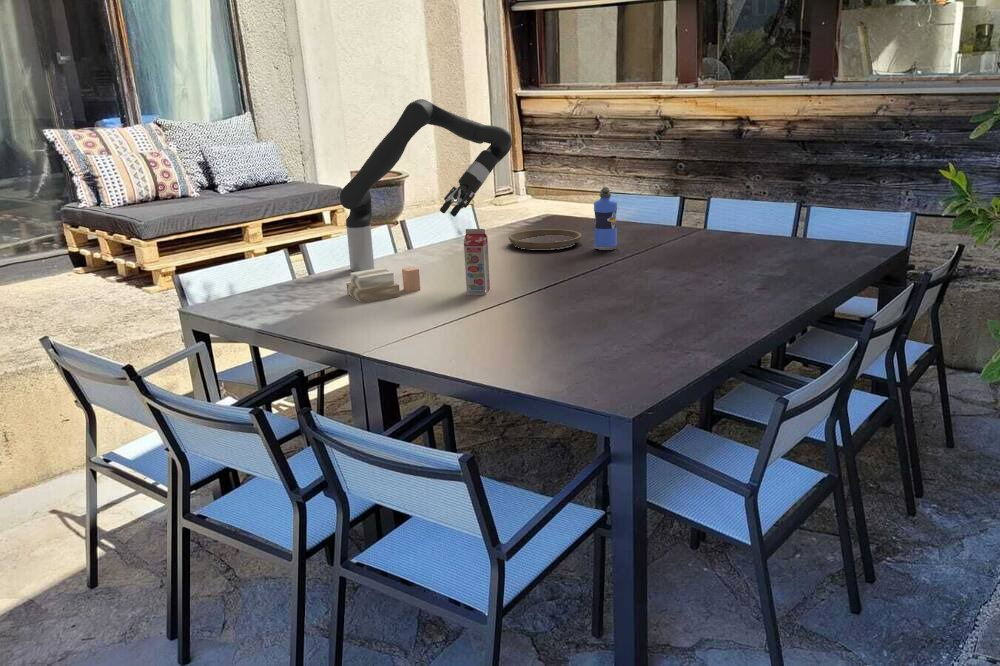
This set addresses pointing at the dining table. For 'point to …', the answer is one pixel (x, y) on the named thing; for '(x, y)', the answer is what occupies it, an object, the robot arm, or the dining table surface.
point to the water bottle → (605, 220)
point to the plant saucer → (521, 235)
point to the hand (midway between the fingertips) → (446, 213)
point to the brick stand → (372, 285)
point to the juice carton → (476, 262)
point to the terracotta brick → (411, 279)
